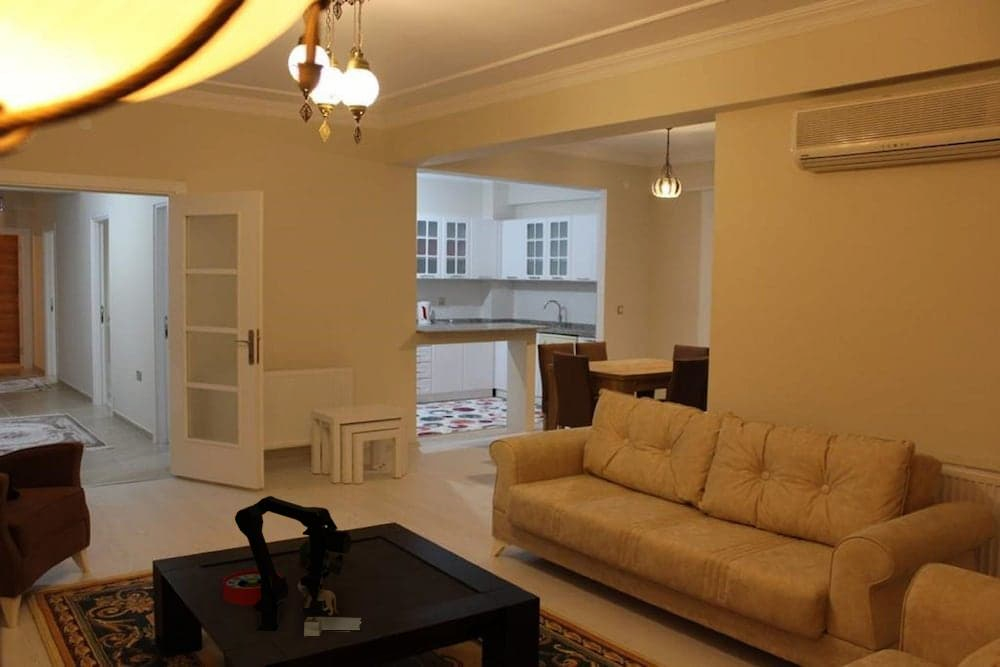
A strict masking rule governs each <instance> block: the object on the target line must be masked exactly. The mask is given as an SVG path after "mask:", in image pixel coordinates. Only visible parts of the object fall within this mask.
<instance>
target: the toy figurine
mask: <svg viewBox="0 0 1000 667" xmlns="http://www.w3.org/2000/svg"><path fill="white" fill-rule="evenodd" d="M326 527H327V526H324V527H323V529H324V528H326ZM308 553H309V539H307V540H305V541H303V543H302V544H301V546H299V552H298V554H299V557H300V561H301V562H303V563H305V564H304V568H306V567H308V558H307V554H308Z"/></svg>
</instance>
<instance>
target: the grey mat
mask: <svg viewBox="0 0 1000 667" xmlns="http://www.w3.org/2000/svg"><path fill="white" fill-rule="evenodd" d="M320 617H321V618H322V630H360V628H359V627H360V626H359V625H360V624H361V623H362V622H361V621H360V620H361V618H362V617H339V616H334V617H333V616H320Z"/></svg>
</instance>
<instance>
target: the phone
mask: <svg viewBox="0 0 1000 667" xmlns="http://www.w3.org/2000/svg"><path fill="white" fill-rule="evenodd" d="M306 602H307V597H304V596H303V599H302V602H301V607H300V613H301V612H322V613H324V612H325V610H323V608H326V602H325V600H323V601H318V600H317V601H313V599H312V600H311V602H310V606H309V607H308V608H305V607H304V606H305V603H306ZM323 611H324V612H323Z"/></svg>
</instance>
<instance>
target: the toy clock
mask: <svg viewBox="0 0 1000 667" xmlns="http://www.w3.org/2000/svg"><path fill="white" fill-rule="evenodd" d="M276 573H277V575H278V576H279V577H280V578H282V577H283V576H282V574H280V573H279V572H276ZM260 588H261V577H260V574H259V571H258V569H251V570H249V569H247V570H242V571H238V572H237V571H236V572H234V573H231V574H229V575H227V576H225V577H224V578H223V580H222V599H223V601H224V600H226V601H228V602H230V603H229V604H231V603H234V604H233V605H235V604H242V605H241V606H254V604H255V603H257V602H258V601H259V600H260V599H261V598H262V597H261V592H260ZM226 601H225V602H226ZM228 602H227V603H228Z"/></svg>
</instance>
